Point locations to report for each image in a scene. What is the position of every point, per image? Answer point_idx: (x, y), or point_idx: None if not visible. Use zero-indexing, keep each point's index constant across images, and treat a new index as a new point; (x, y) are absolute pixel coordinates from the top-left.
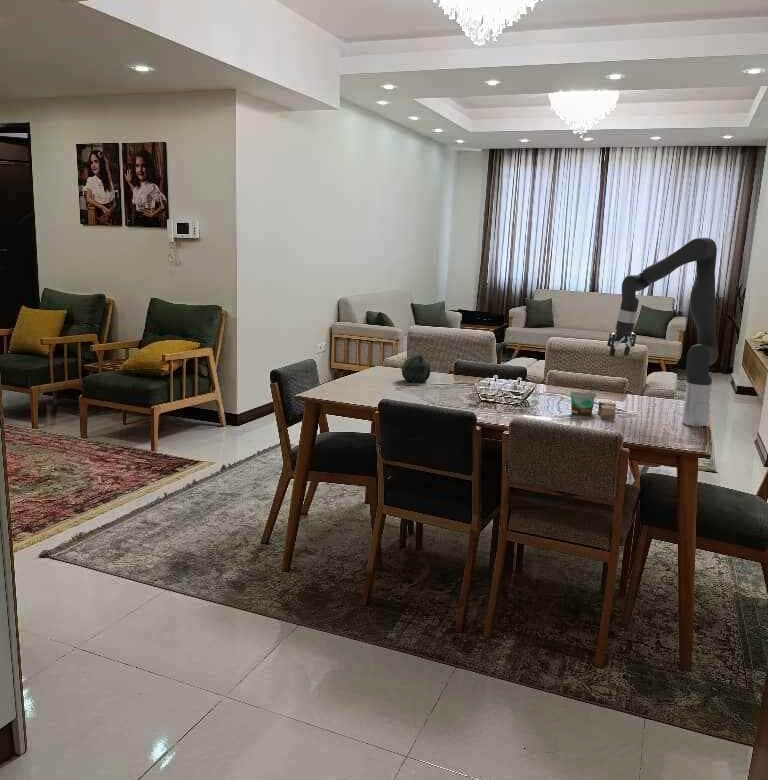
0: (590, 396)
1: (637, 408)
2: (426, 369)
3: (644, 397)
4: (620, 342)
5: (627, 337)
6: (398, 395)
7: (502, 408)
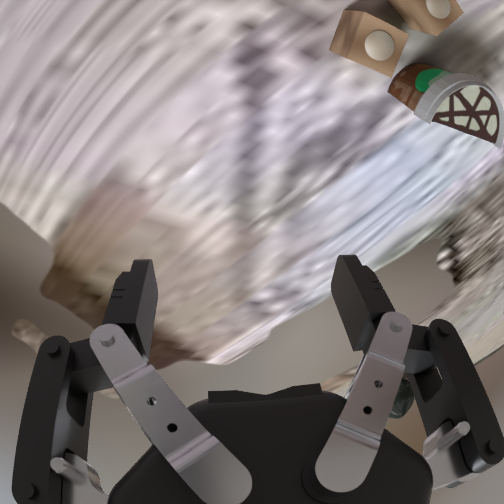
0: (480, 80)
1: (146, 49)
2: (398, 394)
3: (10, 197)
4: (365, 385)
5: (247, 483)
6: (481, 327)
7: (490, 227)
